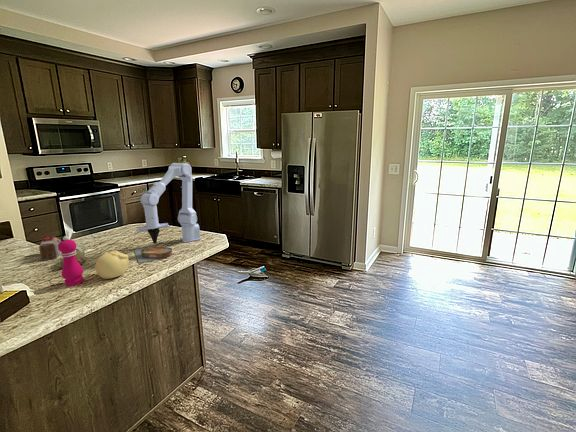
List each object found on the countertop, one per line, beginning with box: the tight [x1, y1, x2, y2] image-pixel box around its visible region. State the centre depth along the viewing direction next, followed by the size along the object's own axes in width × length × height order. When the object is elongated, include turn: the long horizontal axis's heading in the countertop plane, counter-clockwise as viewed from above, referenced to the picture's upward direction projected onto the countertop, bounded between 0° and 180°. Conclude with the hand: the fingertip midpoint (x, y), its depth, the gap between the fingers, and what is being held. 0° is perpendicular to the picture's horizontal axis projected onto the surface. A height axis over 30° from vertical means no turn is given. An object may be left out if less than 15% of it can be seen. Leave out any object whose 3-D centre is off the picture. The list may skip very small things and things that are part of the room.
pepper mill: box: [58, 235, 85, 287], centre depth 122 cm, size 7×7×20 cm
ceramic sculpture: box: [58, 244, 87, 268], centre depth 143 cm, size 11×9×15 cm
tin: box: [141, 246, 173, 259], centre depth 152 cm, size 15×3×8 cm
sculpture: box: [94, 250, 130, 280], centre depth 129 cm, size 11×12×11 cm
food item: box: [38, 236, 62, 261], centre depth 153 cm, size 14×8×10 cm, turn 32°
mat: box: [133, 246, 163, 264], centre depth 154 cm, size 10×20×1 cm, turn 32°
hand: (154, 243), depth 154 cm, fingers closed
